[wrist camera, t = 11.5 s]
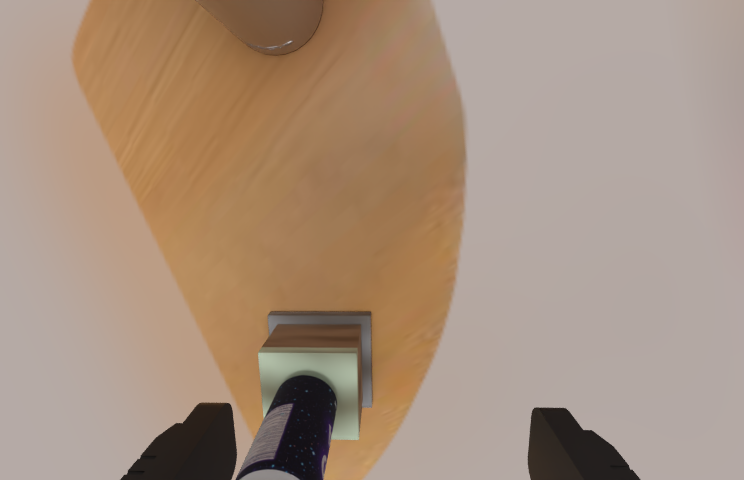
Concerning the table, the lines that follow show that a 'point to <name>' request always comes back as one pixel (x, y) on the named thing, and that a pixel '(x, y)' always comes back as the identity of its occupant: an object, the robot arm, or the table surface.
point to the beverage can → (293, 433)
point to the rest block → (321, 360)
